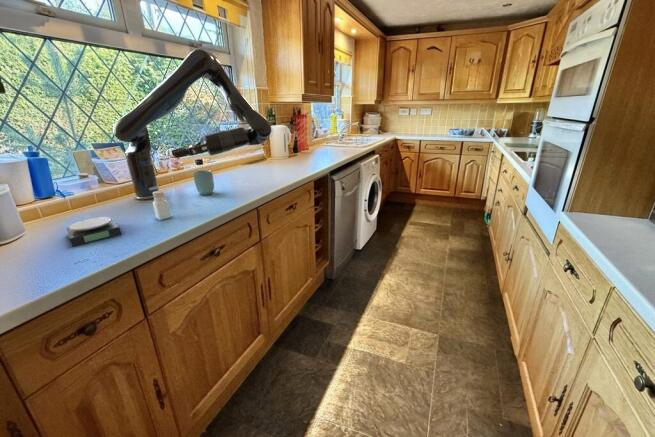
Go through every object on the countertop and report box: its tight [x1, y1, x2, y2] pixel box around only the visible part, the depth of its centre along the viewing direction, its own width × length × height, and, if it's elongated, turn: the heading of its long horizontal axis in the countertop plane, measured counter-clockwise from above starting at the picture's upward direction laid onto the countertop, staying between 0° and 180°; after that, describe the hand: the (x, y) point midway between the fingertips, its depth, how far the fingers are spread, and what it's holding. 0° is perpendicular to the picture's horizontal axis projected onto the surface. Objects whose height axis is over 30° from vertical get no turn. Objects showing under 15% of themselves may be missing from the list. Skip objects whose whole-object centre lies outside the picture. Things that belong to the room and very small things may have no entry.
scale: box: [65, 216, 122, 247], centre depth 93 cm, size 12×12×4 cm
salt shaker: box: [152, 190, 172, 221], centre depth 105 cm, size 4×4×10 cm
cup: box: [192, 169, 215, 196], centre depth 134 cm, size 8×8×10 cm
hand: (173, 154), depth 104 cm, fingers open, 8 cm apart
